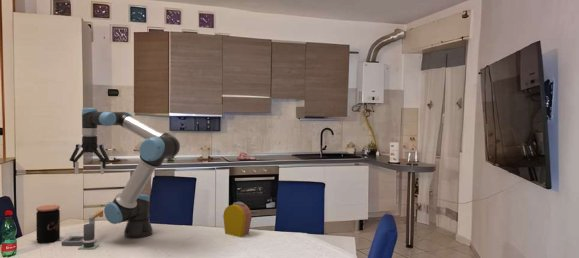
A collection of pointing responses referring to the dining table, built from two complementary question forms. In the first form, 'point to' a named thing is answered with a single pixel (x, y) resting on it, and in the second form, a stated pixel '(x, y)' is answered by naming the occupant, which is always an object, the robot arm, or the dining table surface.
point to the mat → (89, 247)
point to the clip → (96, 215)
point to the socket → (77, 238)
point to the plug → (88, 235)
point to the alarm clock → (237, 219)
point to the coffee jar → (48, 223)
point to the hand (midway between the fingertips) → (89, 173)
